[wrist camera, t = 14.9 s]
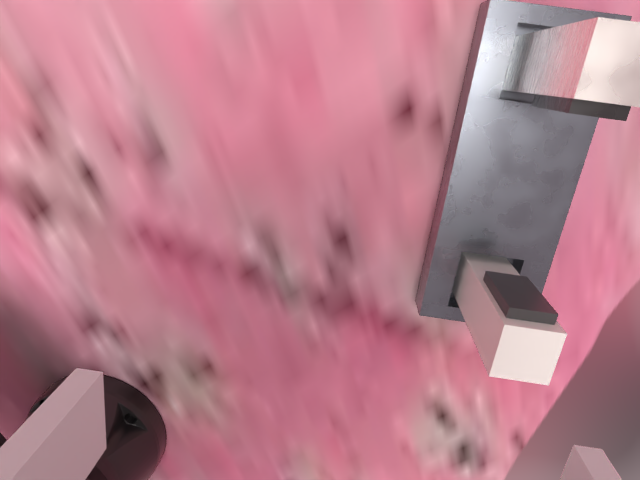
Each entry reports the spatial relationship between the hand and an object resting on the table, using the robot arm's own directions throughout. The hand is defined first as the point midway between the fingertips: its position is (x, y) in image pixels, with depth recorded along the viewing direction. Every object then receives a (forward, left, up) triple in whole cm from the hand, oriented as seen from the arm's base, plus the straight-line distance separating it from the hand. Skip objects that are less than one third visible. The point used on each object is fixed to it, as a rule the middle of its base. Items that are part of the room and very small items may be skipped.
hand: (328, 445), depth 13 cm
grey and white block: (+13, +3, -31) cm, 33 cm away
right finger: (+13, -6, -30) cm, 33 cm away
